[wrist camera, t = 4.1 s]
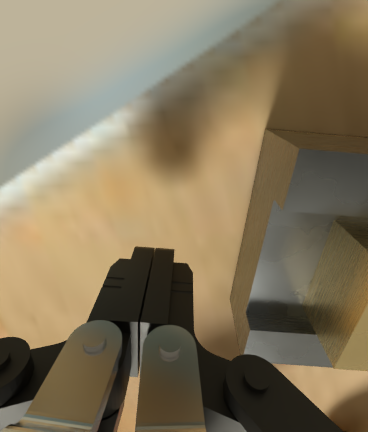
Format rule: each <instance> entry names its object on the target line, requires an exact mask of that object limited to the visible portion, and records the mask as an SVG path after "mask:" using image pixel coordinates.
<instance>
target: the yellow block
mask: <svg viewBox="0 0 368 432" xmlns="http://www.w3.org/2000/svg"><path fill="white" fill-rule="evenodd" d="M302 307H303V309H304V311H305V313H306V315H307V317H308V319H309V321H310V323H311V325H312V327H313V329H314V331H315V333H316V335H317V337H318V339H319V341H320V343H321V345H322V346H323V348H324V350H325V352H326V354H327V356H328V358H329V360H330V362H331V364H332V366H333V368H334V369H345V370H360V371H368V223H367V222H354V221H342V220H334V222H333V225H332V227H331V230H330V233H329V235H328V238H327V241H326V243H325V246H324V249H323V251H322V254H321V257H320V259H319V262H318V265H317V267H316V270H315V273H314V275H313V278H312V281H311V283H310V286H309V289H308V291H307V294H306V297H305V299H304V302H303V305H302Z"/></svg>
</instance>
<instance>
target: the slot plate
mask: <svg viewBox="0 0 368 432" xmlns="http://www.w3.org/2000/svg"><path fill="white" fill-rule="evenodd" d="M334 220H342V221H354V222H367V223H368V138H367V137H355V136H343V135H331V134H320V133H308V132H296V131H284V130H272V129H265V133H264V138H263V143H262V147H261V152H260V157H259V162H258V167H257V172H256V176H255V181H254V186H253V191H252V196H251V200H250V205H249V210H248V215H247V220H246V225H245V229H244V234H243V239H242V244H241V249H240V254H239V258H238V263H237V268H236V273H235V278H234V282H233V287H232V292H231V297H230V303H231V308H232V313H233V318H234V324H235V329H236V334H237V339H238V345H239V350H240V355H244V354H251V355H256V356H259V357H262V358H264V359H265V360H267V361H268V362H270V363H274V364H289V365H304V366H318V367H333V366H332V364H331V362H330V360H329V358H328V356H327V354H326V352H325V350H324V348H323V346H322V345H321V343H320V341H319V339H318V337H317V335H316V333H315V331H314V329H313V327H312V325H311V323H310V321H309V319H308V317H307V315H306V313H305V311H304V309H303V307H302V305H303V302H304V299H305V297H306V294H307V291H308V289H309V286H310V283H311V281H312V278H313V275H314V273H315V270H316V267H317V265H318V262H319V259H320V257H321V254H322V251H323V249H324V246H325V243H326V241H327V238H328V235H329V233H330V230H331V227H332V225H333V222H334Z"/></svg>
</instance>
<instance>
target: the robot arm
mask: <svg viewBox="0 0 368 432" xmlns="http://www.w3.org/2000/svg"><path fill="white" fill-rule="evenodd" d="M139 367H140V383H139V394H138V405H137V416H136V426H135V432H343V431H342V430H341V429H340V428H339V427H338V426H337V425H336V424H335V423H334V422H332V421H331V420H330V419H329V418H328V417H327V416H326V415H325V414H324V413H323V412H322V411H321V410H320V409H319V408H318V407H317V406H316V405H315V404H313V403H312V402H311V401H310V400H309V399H308V398H307V397H306V396H305V395H304V394H303V393H302V392H301V391H300V390H299V389H298V388H297V387H296V386H294V385H293V384H292V383H291V382H290V381H289V380H288V379H287V378H286V377H285V376H284V375H283V374H282V373H281V372H280V371H279V370H278V369H277V368H275V367H274V366H273V365H272V364H271V363H270V362H268V361H267V360H265V359H264V358H262V357H259V356H256V355H251V354H244V355H240V356H237V357H235V358H234V359H233V360H232V361H229V360H226V359H224V358H221V357H219V356H216V355H214V354H212V353H210V352H209V351H207V350H206V349H205V348H203V347H202V346H201V344H200V343H199V342H198V340H197V338H196V336H195V333H194V315H193V272H192V271H191V269H190V267H189V266H188V264H187V263H174V249H163V248H156V249H155V248H149V247H135V248H134V251H133V254H132V257H131V259H119V260H118V261H117V262H116V263H114V264H113V265H112V266H111V267H110V270H109V272H108V274H107V277H106V279H105V281H104V284H103V287H102V288H101V290H100V293H99V295H98V297H97V300H96V302H95V304H94V307H93V309H92V311H91V314H90V316H89V318H88V321H87V322H86V323H85V324H83V325H81V326H80V327H78V328H77V329H76V330H74V331H73V333H72V334H71V335H70V336H69V338H68V340H66V341H64V342H61V343H58V344H54V345H50V346H45V347H41V348H36V349H31V350H30V347H29V345H28V343H27V342H26V341H25V340H23V339H21V338H17V337H6V338H1V339H0V432H117V429H118V425H119V422H120V418H121V414H122V411H123V407H124V400H125V395H126V391H127V386H128V381H129V376H130V377H138V373H139Z"/></svg>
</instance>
